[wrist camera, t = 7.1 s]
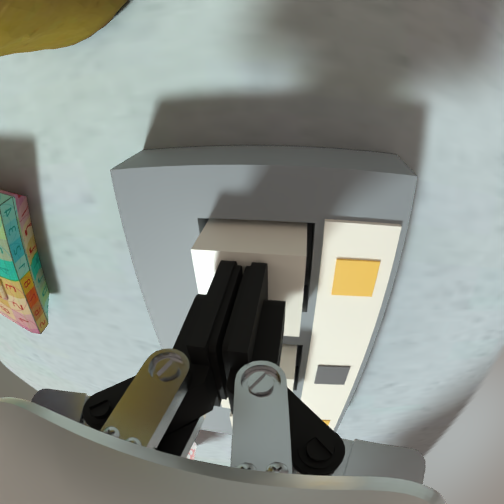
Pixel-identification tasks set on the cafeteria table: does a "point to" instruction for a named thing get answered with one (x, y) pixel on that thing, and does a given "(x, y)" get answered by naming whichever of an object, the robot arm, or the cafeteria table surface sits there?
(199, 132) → the cafeteria table surface
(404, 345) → the cafeteria table surface
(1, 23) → the mug
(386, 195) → the button board
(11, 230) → the puzzle game
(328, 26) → the cafeteria table surface
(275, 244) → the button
